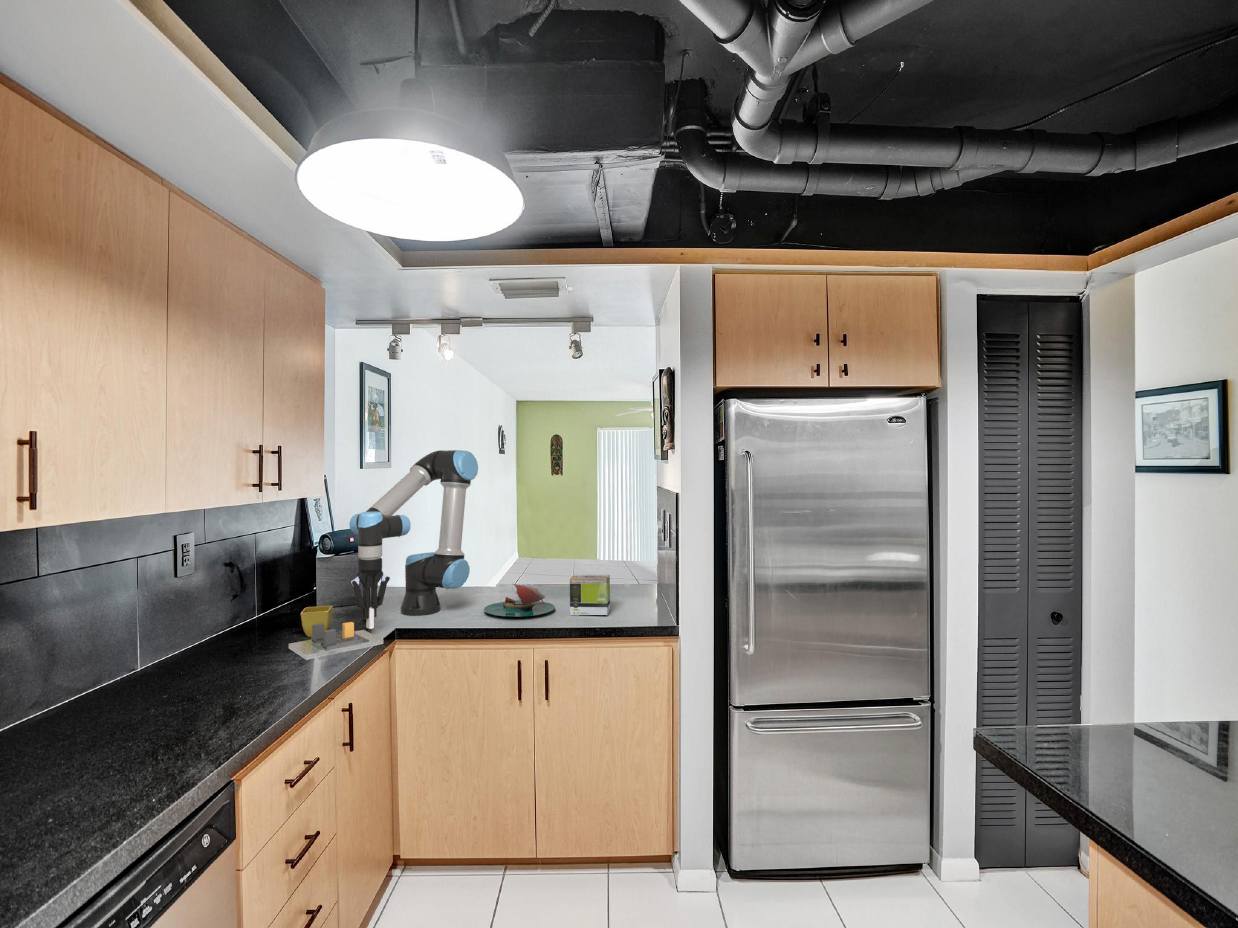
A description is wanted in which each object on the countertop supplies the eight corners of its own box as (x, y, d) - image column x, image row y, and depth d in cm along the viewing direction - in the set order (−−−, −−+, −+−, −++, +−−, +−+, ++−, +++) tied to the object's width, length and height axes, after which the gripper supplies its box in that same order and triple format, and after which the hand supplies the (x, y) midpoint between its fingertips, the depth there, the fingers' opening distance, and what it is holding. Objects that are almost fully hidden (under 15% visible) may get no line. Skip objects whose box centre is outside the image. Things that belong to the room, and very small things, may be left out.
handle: (333, 644, 199) (333, 628, 199) (335, 646, 198) (335, 630, 198) (323, 646, 197) (323, 630, 197) (325, 647, 196) (325, 632, 196)
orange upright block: (351, 636, 208) (351, 621, 208) (353, 638, 207) (353, 622, 207) (342, 638, 206) (342, 623, 206) (344, 639, 205) (344, 624, 205)
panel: (363, 633, 218) (363, 626, 218) (383, 643, 207) (383, 636, 207) (288, 648, 201) (288, 640, 201) (305, 659, 190) (305, 651, 190)
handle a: (321, 638, 207) (321, 623, 207) (324, 639, 205) (324, 624, 205) (312, 639, 204) (312, 624, 204) (314, 641, 203) (314, 625, 203)
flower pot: (300, 639, 212) (300, 612, 211) (305, 632, 220) (305, 606, 220) (328, 637, 214) (328, 611, 214) (332, 630, 222) (332, 605, 222)
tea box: (610, 610, 254) (610, 574, 254) (607, 617, 244) (607, 578, 244) (573, 609, 255) (573, 573, 255) (569, 615, 245) (569, 578, 245)
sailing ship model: (538, 623, 234) (538, 593, 234) (470, 617, 241) (470, 588, 241) (564, 606, 261) (565, 579, 261) (503, 602, 268) (503, 576, 268)
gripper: (384, 554, 219) (384, 622, 219) (346, 558, 210) (346, 629, 210) (393, 557, 213) (393, 626, 214) (355, 561, 204) (355, 633, 204)
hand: (370, 627), depth 212 cm, fingers closed
